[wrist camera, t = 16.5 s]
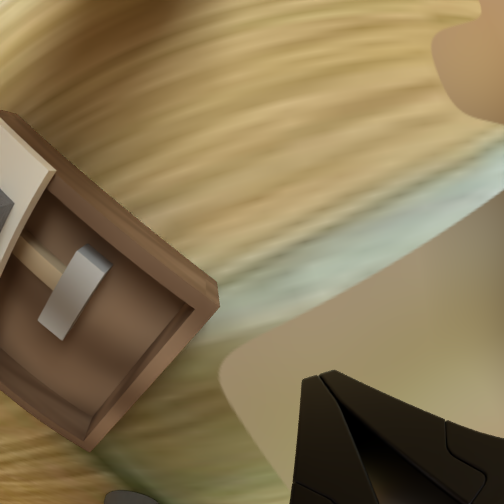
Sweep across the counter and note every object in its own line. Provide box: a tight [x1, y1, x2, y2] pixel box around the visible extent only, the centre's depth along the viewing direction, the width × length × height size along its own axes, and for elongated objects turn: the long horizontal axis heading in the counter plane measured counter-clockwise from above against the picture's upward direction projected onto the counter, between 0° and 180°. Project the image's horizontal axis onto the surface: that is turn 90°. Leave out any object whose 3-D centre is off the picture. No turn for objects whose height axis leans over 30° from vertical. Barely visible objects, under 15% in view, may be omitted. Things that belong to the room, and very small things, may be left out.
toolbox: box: [0, 110, 220, 452], centre depth 15 cm, size 14×16×4 cm
